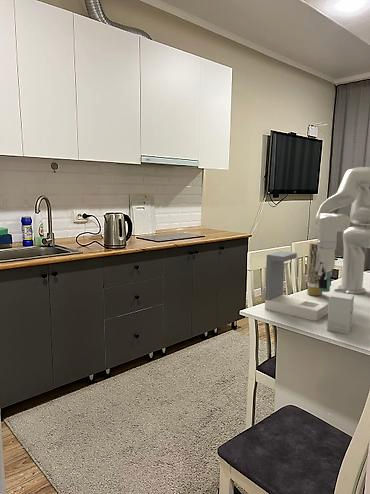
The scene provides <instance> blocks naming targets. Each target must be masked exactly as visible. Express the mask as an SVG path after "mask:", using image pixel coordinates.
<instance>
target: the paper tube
mask: <svg viewBox="0 0 370 494" xmlns="http://www.w3.org/2000/svg"><path fill="white" fill-rule="evenodd" d="M317 244H318V240H314V241H313V240H312V241H309V253H308V269H307V271H308V272H307V286H306V287H307V289H306V292H307V294H308V295H310V296H315V297H318V296H319V297H320V296H322V295H323V292H322V291H320V288H319V275H318V272H317V271H316V270H315V268H316V257H317V251H318V248H317Z"/></svg>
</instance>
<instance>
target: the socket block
mask: <svg viewBox="0 0 370 494" xmlns="http://www.w3.org/2000/svg"><path fill="white" fill-rule="evenodd" d="M297 255H298V254H297V252H291V251H284V250H283V251H282V250H278V251H275V252H272V253H268V254H266V262H265V264H266V265H265V268H266V269H265V291H264V292H265V295H264V310H269V311H272V312H277V313H281V314H285V315H290V316H293V317H294V316H295V317H297V318H303V319H307V320H311V321H315V322H317V321H319V320H320V319H322V318H323V317H325V316H326V315H328V310H329V302H328V303H327V302H322V301H318V300H312V299H308V298H302V297H297V296H293V295H288V294H284V275H285V273H284V272H285V262H288V261H291V260H294V259H297V257H298V256H297Z"/></svg>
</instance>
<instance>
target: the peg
mask: <svg viewBox="0 0 370 494" xmlns="http://www.w3.org/2000/svg"><path fill="white" fill-rule="evenodd" d="M323 272H324V271H323ZM323 274H324V273H323ZM330 275H331V271H329V272H327V278H326V279H327V288H326V289H324V288H320V291H322V293H328V292H330V291H331V286H330ZM324 276H325V274H324Z"/></svg>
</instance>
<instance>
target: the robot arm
mask: <svg viewBox="0 0 370 494" xmlns="http://www.w3.org/2000/svg"><path fill="white" fill-rule="evenodd" d="M369 188H370V166H359V167H353V168H349V169H348V170H346V171H345V173H344V175H343V177H342V179H341V181H340V184H339V186H338V189H337V192H336V193H335V194H333V195H332V196H330V197H328V198H327V199H326V200H325V201H323V202H322V203H321V205H320V206H319V208H318V211H317V213H316V215H315V218H314V226H315V228H316V229H317V241H318V244H317V248H318V251H317V257H316V268H315V270H316V271H317V272H318V275H319V288H324V289H326V288H327V279H326V278H327V272H329V271H331V275H330V287H331V286H332V275H333V270H334V269H335V264H336V249H337V244H338V243H337V242H338V241H337V240H338V239H337V238H338V232H342V241H343V243H342V244H343V257H342V272H341V285H338V286H337V289H345V290H348V291H350V294H353V295H355V294H358V295H359V294H365V293H366V291H367V290H366V288H364V286H363V283H364V275H365V273H364V271H365V259H366V256H365V253H364V251H363V249H362V248H366V249H370V227H368V226H370V189H369ZM349 205H351V207H350V212H349V216H348V215H347V214H344V213H331V212H333V211H334V210H336V209H338V208H343V207H346V206H349ZM351 223H352V224H353V225H364V226H351ZM366 226H367V227H366ZM323 271H324V272H323ZM323 273H324V274H325V276H324V274H323Z"/></svg>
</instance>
